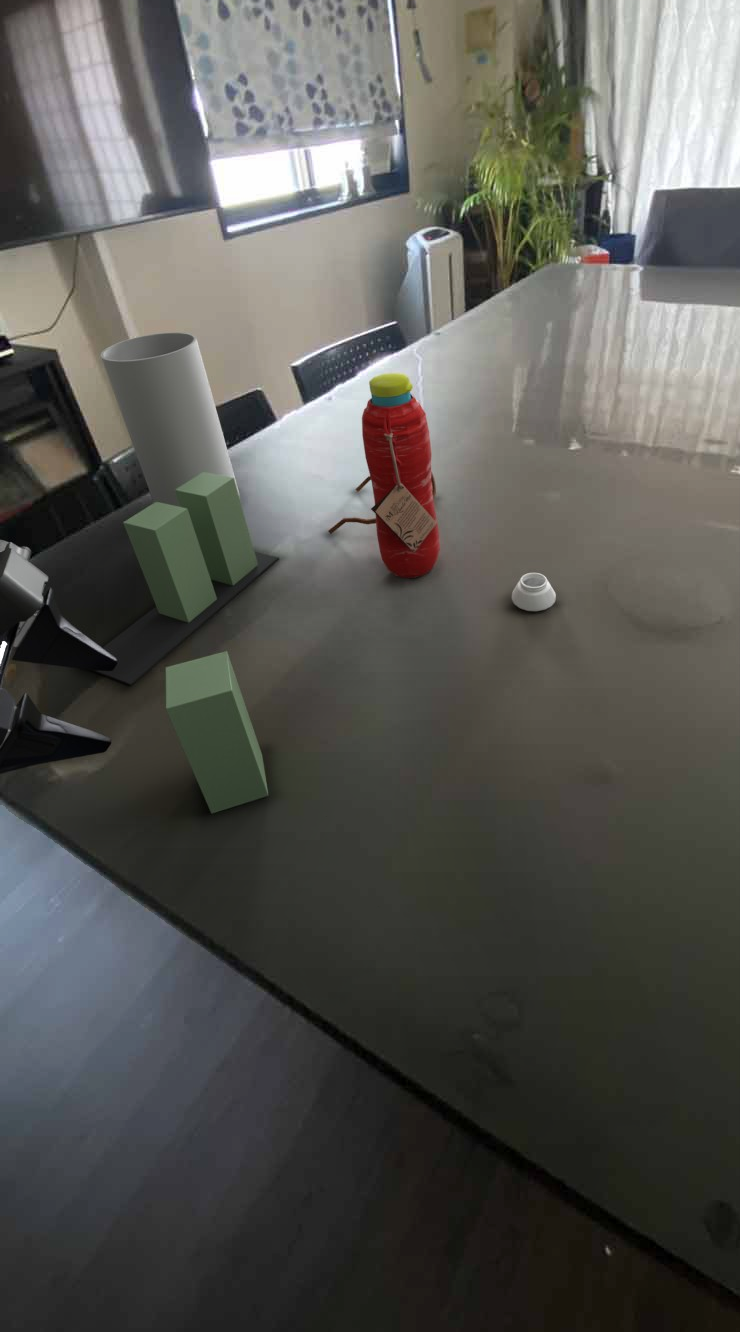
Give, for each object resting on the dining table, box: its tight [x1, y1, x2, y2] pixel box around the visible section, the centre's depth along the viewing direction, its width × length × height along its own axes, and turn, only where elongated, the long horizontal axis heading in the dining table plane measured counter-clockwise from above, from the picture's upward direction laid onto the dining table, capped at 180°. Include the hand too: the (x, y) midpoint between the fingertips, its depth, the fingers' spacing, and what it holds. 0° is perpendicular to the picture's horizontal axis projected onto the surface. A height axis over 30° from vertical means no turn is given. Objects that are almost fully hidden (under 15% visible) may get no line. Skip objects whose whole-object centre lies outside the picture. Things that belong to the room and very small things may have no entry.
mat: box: [91, 551, 280, 687], centre depth 84 cm, size 26×8×1 cm, turn 153°
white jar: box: [511, 572, 557, 612], centre depth 79 cm, size 5×3×5 cm
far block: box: [175, 472, 258, 585], centre depth 86 cm, size 5×5×13 cm
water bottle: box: [361, 372, 441, 579], centre depth 79 cm, size 12×8×25 cm, turn 176°
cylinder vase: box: [100, 331, 240, 507], centre depth 99 cm, size 12×12×25 cm
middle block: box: [123, 502, 217, 623], centre depth 81 cm, size 5×5×13 cm
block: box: [165, 650, 269, 814], centre depth 58 cm, size 5×5×13 cm
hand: (112, 703), depth 53 cm, fingers open, 9 cm apart
